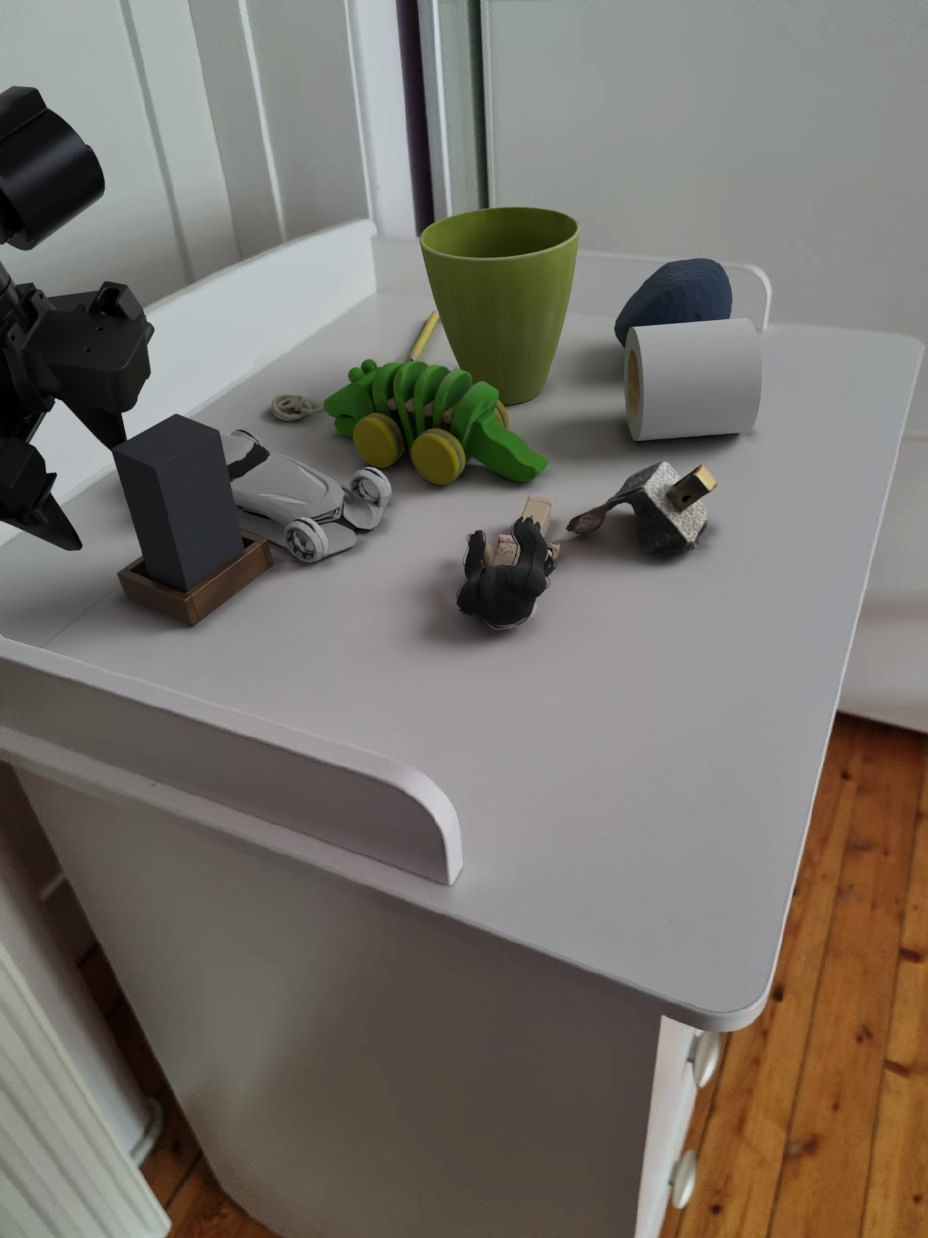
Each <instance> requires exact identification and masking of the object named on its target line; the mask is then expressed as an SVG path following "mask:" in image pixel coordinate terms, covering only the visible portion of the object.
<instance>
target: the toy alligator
mask: <svg viewBox="0 0 928 1238" xmlns="http://www.w3.org/2000/svg"><path fill="white" fill-rule="evenodd" d="M347 378H348V381H349V382H350V383H348V384H347V385H345V386H343V387H342V388H340V389H338V390H337V391H336V392H334V393H332V394H331V395H329V396H328V397H327V398H325V399H324V401H323V403H322V404H323V406H322V407H318V408H313V407H312V406H313V405H312V403H311V402H310V401H309V400H308V399H307V398H306V396H305V395H303V394H302V395H298V394H288V393H287V394H279V395H276V396H275V397H274V398H273V399H272V400H271V407H270V410H271V411H270V412H271V413H272V415H274V417H276V418H277V419H279V420H281V421H285V422H293V421H297V420H299V419H302V418H304V417H307V416H309V415H317V414H321V413H326V414H327V415H328V416H329V417H331V418H333V419H334V427H335V430H336V431H337V433H338V434H339V435H340V436H344V437H349V438H352V440H353V444H354V447H355V450H356V451H357V453H358V455H359V456H360V457H361V458H362V459H363V460H364V461H365V462H366V463H368V464H369V465H370V466H371V467H374V468H377V469H384V468H385V469H386V468H388V467H389V466H391V465H394V464H395V463H397V461H398V460H399V459H400V458H401V457H402V455H403V454H404V453H405V452H406V451H408V453H409V456H410V460H411V462H412V464H413V465H414V468H415V470H416V471H417V472H418V473H419V475H420V476H421V477H423V478H424V479H425V480H426V481H428V482H430V483H432V484H434V485H438V486H445V485H447V484H450V483H452V482H454V481H456V480H457V479H458V478H459V477H460V475H461V474H462V472H463V471H464V469H465V466H466V463H467V462H468V461H470V460H471V459H474V460H476V461H478V462H479V463H480V464H482V465H484V466H485V467H486V468H489V470H492V471H493V472H495V473H496V474H498V475H500V476H502V477H504V478H505V479H508V480H510V481H513V482H518V483H525V482H530V481H531V480H533V479H535V478H536V477H538V476H539V475H540V473H541V472H543V471H544V470H545V468H547V466H548V464H549V459H548V457H546V456H545V455H542V454H540V453H538V452H535V451H534V450H533V449H532V448H530V446H529V445H528V444H527V443H526V442H525V441H524V440H523V439H522V437H521V436H519V435H517V433H515V432H512V431H510V430H509V428H510V427H509V426H510V419H509V414H508V411H507V409H506V407H505V405H503V404H502V403H501V402H500V401H499V400H498V396H499V392H498V390H497V389H495V388H494V387H492V386H491V385H489V384H487V383H486V382H484V381H480V382H478V383H476V384H474V385H473V383H472V376H471V375H470V374H469V373H468V372H466V371H463V370H461V369H460V368H456V369H453V370H450V369H449V368H448V367H447V366H445V365H441V364H436V363H435V364H431V365H429V364H428V363H427V362H425V361H422V360H416V361H410V360H409V361H406V362H404V363H403V362H400V363H399V362H394V361H393V362H388V363H385V364H383V365H382V366H378V364H377V363H376V361H375V360H374V359H371V358H367V359H364V360H362V362H361V365H360V367H358V366H355V367H352V368H351V369H349V371H348V373H347ZM472 385H473V386H472ZM285 411H286V412H287V413H286V412H285Z"/></svg>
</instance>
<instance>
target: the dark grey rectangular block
mask: <svg viewBox="0 0 928 1238" xmlns="http://www.w3.org/2000/svg"><path fill="white" fill-rule="evenodd" d="M220 434H221V431H220V430H219V429H217V428H214V427H212V426H210V425H206V424H205V423H202V422H200V421H196V420H194V419H192V418H189V417H187V416H184V415H182V414H179V413H174V414H172V415H170V416H168V417H166V418H165V419H163V420H161V421H159V422H158V423H156V424H154V425H152V426H150V427H149V428H147V429H144V430H143V431H141V432H140V433H138V434H136V435H134V436H133V437H131V438H129V439H127V441H125V442H123V443H121V444H120V445H118V446H116V447H114V448H112V449H111V451H112V452H111V451H110V452H111V455H112V458H113V461H114V464H115V467H116V471H117V475H118V478H119V481H120V484H121V487H122V492H123V494H124V498H125V501H126V504H127V508H128V512H129V514H130V518H131V521H132V525H133V529H134V531H135V534H136V537H137V541H138V545H139V548H140V551H141V556H142V555H143V558H144V561H145V565H146V568H147V571H148V575H149V578H150V580H153V581H155V582H157V583H160V584H162V585H165V586H167V587H170V588H172V589H175V590H177V591H179V592H182V593H184V594H185V593H186V592H187V591H189V590H190V589H191V588H193V587H194V586H196V585H197V584H198V583H200V582H201V581H202V580H204V579H205V578H206V577H208V576H209V575H210V574H212V573H213V572H214V571H216V570H217V569H219V568H220V567H221V566H223V565H224V564H225V563H227V562H228V561H229V560H231V559H232V558H233V557H235V556H236V555H237V554H239V553H240V552H242V551H243V550H244V545H243V541H242V536H241V531H240V526H239V522H238V517H237V512H236V507H235V502H234V498H233V493H232V488H231V483H230V479H229V474H228V469H227V464H226V459H225V455H224V450H223V445H222V440H221V436H220Z"/></svg>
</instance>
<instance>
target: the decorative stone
mask: <svg viewBox="0 0 928 1238" xmlns="http://www.w3.org/2000/svg"><path fill="white" fill-rule="evenodd" d="M725 270H726V269H724V267H723V266H722V264H721V263H720V262H717V261H715V260H714V259H712V258H704V257H697V258H696V257H695V258H689V259H679V260H674V261H669V262H665V264H663V265H661V266H660V267H659V268H657V269H656V270H655V271H654V272H653V273H652V274H650V276H649V277H648V278H647V279H645V280H644V281H643V283H642V284H641V286H639V288H638V289H637V290H636V291H635V292H634V293H633V294H632V295H631V296H630V298H628V300H627V301H626V303H625V304H624V306H623V307H622V309H621V311H620V313H619V314H618V316H617V318H616V319H615V322H614V327H613V331H614V334H615V337H616V339H617V340H618V342H619V344H620V345H621V347H622V348H623V349H625V346H626V339H627V334H628V331H629V329H630V328H631V327H640V326H653V325H665V324H677V323H689V322H702V321H714V320H726V319H731V315H732V310H733V309H732V307H733V291H732V286H731V282H730V278H729V276H728V275H727V272H726V271H725Z"/></svg>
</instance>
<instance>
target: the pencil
mask: <svg viewBox="0 0 928 1238" xmlns="http://www.w3.org/2000/svg"><path fill="white" fill-rule="evenodd" d="M439 319H440V316H439V313H438V310H437V309H434V310H433V311H432V312H431V314H430V316H429V318H428V320H427V322H426V324H425V325H424V327H423V329H422V331H421V333H420V335H419V337H418V338H417V341H416V342H415V344H414V346H413V348H412V350H411V352H410V354H409V361H418V359H419V357H420V355H421V353H422V352H423V350H424V347H425V346H426V344H427V342H428V339H429V338H430V336H431V334H432V332H433V330H434V328H435V327H436V324H437V322H438V320H439Z"/></svg>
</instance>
